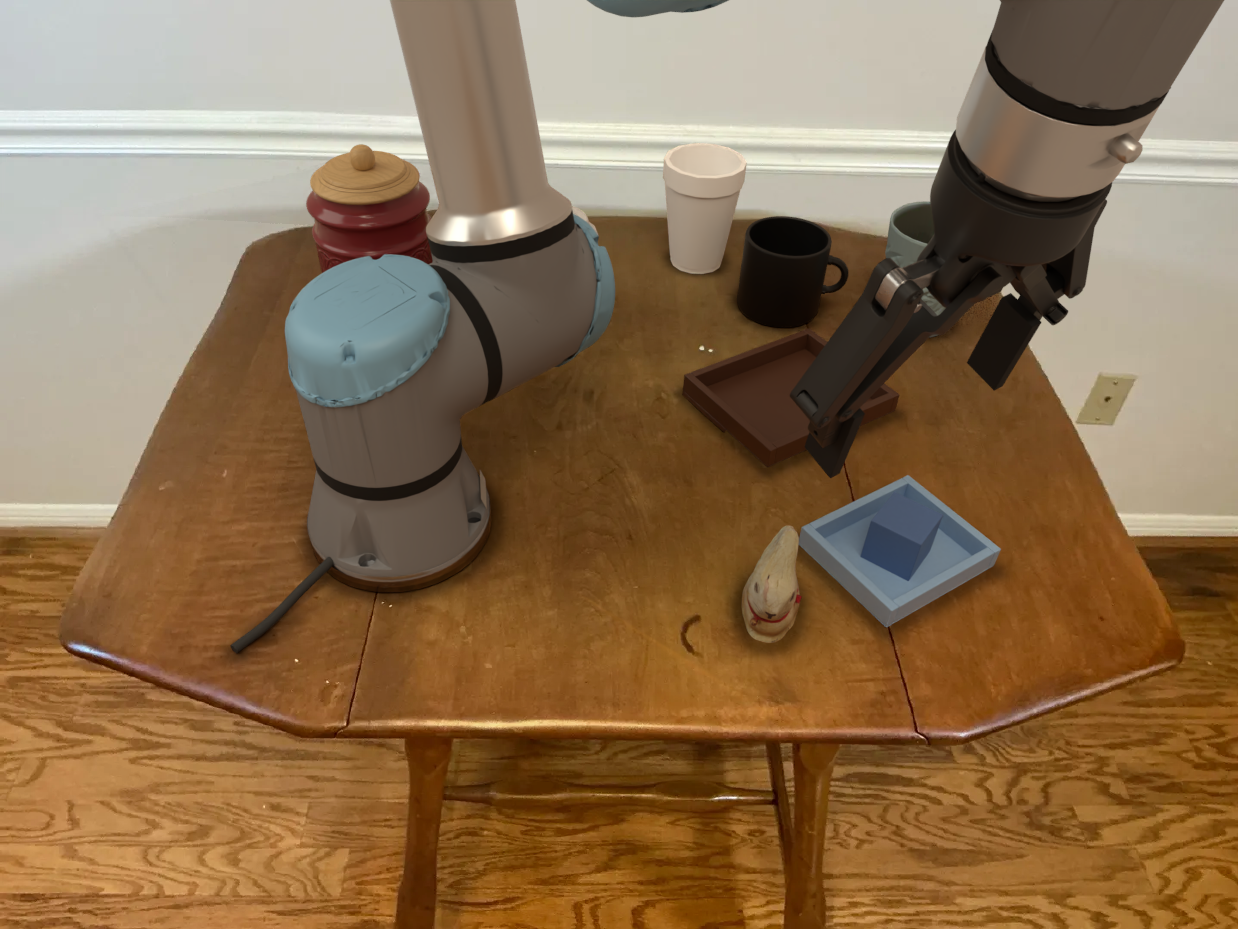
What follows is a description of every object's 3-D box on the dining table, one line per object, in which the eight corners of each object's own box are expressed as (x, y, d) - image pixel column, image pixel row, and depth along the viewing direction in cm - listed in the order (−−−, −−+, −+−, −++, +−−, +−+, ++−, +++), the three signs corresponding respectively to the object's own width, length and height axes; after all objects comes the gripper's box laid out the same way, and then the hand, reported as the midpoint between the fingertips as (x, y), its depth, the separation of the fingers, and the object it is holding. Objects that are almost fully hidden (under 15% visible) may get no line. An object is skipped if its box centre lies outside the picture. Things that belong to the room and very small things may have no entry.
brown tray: (766, 471, 88) (770, 450, 87) (682, 394, 97) (683, 374, 95) (894, 414, 95) (900, 394, 94) (805, 347, 104) (808, 327, 102)
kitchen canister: (304, 289, 109) (271, 141, 98) (400, 253, 116) (381, 110, 104) (363, 338, 102) (336, 185, 91) (462, 297, 109) (448, 150, 97)
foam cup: (651, 244, 120) (657, 144, 111) (722, 239, 121) (733, 141, 112) (667, 283, 113) (675, 180, 104) (742, 278, 114) (755, 175, 106)
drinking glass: (945, 296, 112) (974, 202, 104) (967, 345, 105) (999, 248, 97) (860, 293, 112) (882, 199, 104) (876, 341, 105) (901, 244, 97)
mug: (841, 335, 106) (857, 264, 100) (734, 324, 107) (743, 252, 101) (839, 291, 113) (854, 222, 107) (738, 281, 114) (747, 211, 108)
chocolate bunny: (710, 623, 75) (724, 535, 68) (767, 568, 79) (785, 481, 73) (768, 662, 72) (788, 575, 65) (823, 603, 77) (847, 516, 70)
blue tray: (884, 632, 75) (891, 611, 73) (796, 547, 81) (801, 526, 79) (992, 570, 80) (1001, 549, 78) (901, 495, 86) (908, 474, 85)
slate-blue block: (908, 581, 78) (921, 545, 75) (860, 557, 80) (870, 520, 77) (930, 551, 81) (943, 514, 78) (882, 527, 82) (894, 491, 80)
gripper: (872, 307, 38) (783, 546, 56) (1281, 111, 45) (1086, 379, 63) (765, 194, 41) (713, 454, 59) (1161, 28, 49) (1008, 305, 67)
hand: (905, 416), depth 61 cm, fingers open, 13 cm apart
